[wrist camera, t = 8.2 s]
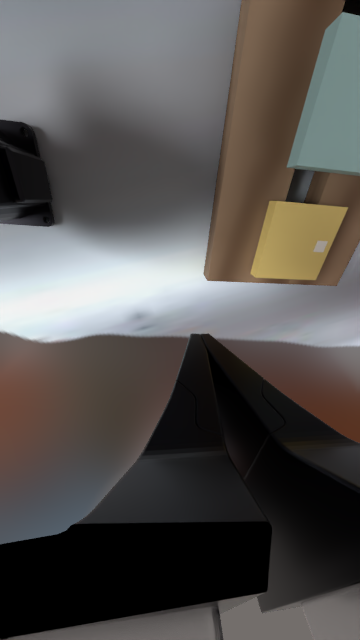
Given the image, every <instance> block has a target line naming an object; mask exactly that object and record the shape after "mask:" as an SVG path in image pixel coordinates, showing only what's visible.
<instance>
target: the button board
mask: <svg viewBox="0 0 360 640" xmlns="http://www.w3.org/2000/svg"><path fill="white" fill-rule="evenodd" d="M344 4H345V0H242V2H241V9H240V16H239V24H238V31H237V38H236V45H235V52H234V59H233V67H232V74H231V81H230V88H229V95H228V103H227V110H226V117H225V124H224V131H223V138H222V146H221V153H220V160H219V167H218V174H217V181H216V189H215V196H214V203H213V210H212V217H211V225H210V232H209V239H208V246H207V253H206V260H205V268H204V276H205V277H206V279H207V281H227V282H253V283H278V284H303V285H329V286H337V284H338V282H339V280H340V278H341V276H342V274H343V272H344V270H345V268H346V267H347V265H348V263H349V261H350V259H351V257H352V255H353V253H354V251H355V249H356V247H357V245H358V243H359V241H360V176H355V175H346V174H338V173H329V172H320V171H315V172H314V175H313V178H312V181H311V184H310V187H309V189H308V192H307V195H306V198H305V201H304V203H305V204H316V205H327V206H338V207H348V209H347V211H346V214H345V216H344V218H343V220H342V223H341V225H340V227H339V229H338V232H337V234H336V236H335V238H334V241H333V243H332V245H331V247H330V249H329V252H328V254H327V256H326V258H325V261H324V263H323V265H322V267H321V270H320V272H319V274H318V276H317V278H316V280H298V279H275V278H255V277H254V276H253V275H252V274H250V273H251V269H252V265H253V262H254V258H255V254H256V250H257V246H258V243H259V239H260V235H261V231H262V227H263V224H264V220H265V216H266V212H267V209H268V205H269V201H283V202H285V200H286V197H287V194H288V190H289V187H290V184H291V180H292V177H293V174H294V170H295V169H294V168H287V164H288V161H289V157H290V154H291V150H292V147H293V143H294V139H295V136H296V132H297V129H298V125H299V122H300V118H301V115H302V111H303V107H304V104H305V100H306V97H307V93H308V90H309V86H310V83H311V79H312V75H313V72H314V68H315V65H316V61H317V58H318V54H319V51H320V47H321V43H322V40H323V36H324V33H325V30H326V29H327V28H328V27H329V26H330V25H331V24H332V23H333V22H334V21H335V19H336V18H337V17H338V16H339V15H340V14H341V13H342V10H343V7H344Z"/></svg>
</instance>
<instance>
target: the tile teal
mask: <svg viewBox="0 0 360 640" xmlns="http://www.w3.org/2000/svg"><path fill="white" fill-rule="evenodd" d="M287 168H294V169H302V170H311V171H320V172H329V173H338V174H346V175H355V176H360V16H358V15H354V14H349V13H345V12H342V13H341V14H340V15H339V16H338V17H337V18H336V19H335V21H334V22H333V23H332V24H331V25H330V26H329V27H328V28H327V29H326V30H325V33H324V36H323V40H322V43H321V47H320V51H319V54H318V58H317V61H316V65H315V68H314V72H313V75H312V79H311V83H310V86H309V90H308V93H307V97H306V100H305V104H304V107H303V111H302V115H301V118H300V122H299V125H298V129H297V132H296V136H295V139H294V143H293V147H292V150H291V154H290V157H289V161H288V164H287Z"/></svg>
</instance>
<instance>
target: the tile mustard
mask: <svg viewBox="0 0 360 640" xmlns="http://www.w3.org/2000/svg"><path fill="white" fill-rule="evenodd" d="M347 209H348V207H338V206H327V205H316V204H305V203H294V202H283V201H269V205H268V209H267V212H266V216H265V220H264V224H263V227H262V231H261V235H260V239H259V243H258V246H257V250H256V254H255V258H254V262H253V265H252V269H251V273H250V274H252V275H253V276H254V277H255V278H275V279H298V280H316V278H317V276H318V274H319V272H320V270H321V267H322V265H323V263H324V261H325V258H326V256H327V254H328V252H329V249H330V247H331V245H332V243H333V241H334V238H335V236H336V234H337V232H338V229H339V227H340V225H341V223H342V220H343V218H344V216H345V214H346V211H347Z"/></svg>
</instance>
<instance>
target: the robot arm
mask: <svg viewBox="0 0 360 640" xmlns="http://www.w3.org/2000/svg"><path fill="white" fill-rule="evenodd" d="M24 129H27V131H28V136H27V137H25V135H24V132H23V131H24ZM51 200H52V195H51V190H50V186H49V181H48V177H47V172H46V168H45V163H44V161H43V160H42V159H41V158H40V154H39V150H38V145H37V141H36V137H35V133H34V131H33V129H32V128H31V127H30V126H28V125H27V124H25V123H22V122H14V121H6V120H0V223H1V224H16V225H31V226H47V227H48V226H52V225H54V223H55V220H54V216H53V211H52V207H51V203H50V202H51ZM45 217H47V218H48V219H49V223H48V222H46V220H45ZM255 597H257V598H258V602H259V606H260V609H261V612H262V613H266V612H271V611H278V610H284V609H290V608H296V607H302V609H303V611H304V614H305V617H306V620H307V623H308V626H309V628H310V631H311V634H312V637H313V640H360V443H358V442H355V441H353V440H351V439H349V438H347V437H345V436H344V435H342V434H340V433H339V432H337V431H336V430H334V429H333V428H331V427H330V426H328V425H327V424H325V423H324V422H323V421H321V420H320V419H318V418H317V417H315V416H314V415H313V414H311V413H310V412H308V411H307V410H305V409H304V408H302V407H301V406H299V405H298V404H297V403H295V402H294V401H293V400H291V399H290V398H288V397H287V396H286V395H284V394H283V393H281V392H280V391H279V390H278V389H277V388H275V387H274V386H272V385H271V384H270V383H269V382H268V381H266V380H265V379H263V377H261V376H260V375H259V374H258V373H257V372H255V371H254V370H253V369H251V368H250V367H249V366H248V365H247V364H245V363H244V362H243V361H242V360H240V359H239V358H238V357H237V356H236V355H234V354H233V353H232V352H231V351H229V350H228V349H227V348H226V347H224V346H223V345H222V344H221V343H219V342H218V341H217V340H216V339H215V338H213V337H212V336H211V335H210V334H191V335H190V338H189V341H188V344H187V347H186V350H185V353H184V356H183V360H182V363H181V366H180V369H179V372H178V375H177V379H176V382H175V384H174V388H173V391H172V393H171V396H170V399H169V401H168V403H167V405H166V407H165V410H164V412H163V414H162V416H161V417H160V420H159V421H158V423H157V425H156V427H155V429H154V431H153V433H152V435H151V437H150V439H149V441H148V443H147V444H146V446H145V448H144V450H143V452H142V453H141V455H140V456H139V458H138V459H137V461H136V462H135V463H134V464H133V465H132V467H131V468H130V469H129V470H128V471H127V472H126V474H124V476H123V477H122V478H121V479H120V480H119V481H118V482H117V484H116V485H115V486H114V487H113V488H112V489H111V491H110V492H109V493H108V494H107V495H106V496H105V497H104V498H103V499H102V501H101V502H100V503H99V504H98V505H97V506H96V507H95V509H94V510H92V512H90V514H88V515H87V516H86V517H85V518H83V519H82V520H80V521H79V522H77V523H75V524H73V525H71V526H70V527H69V528H68V529H67V530H66V531H64V532H62V533H60V534H57V535H52V536H45V537H40V538H34V539H29V540H23V541H17V542H11V543H6V544H1V545H0V640H223V633H222V627H221V620H220V614H221V613H223V612H225V611H228V610H230V609H232V608H234V607H236V606H238V605H240V604H242V603H244V602H247V601H249V600H251V599H253V598H255Z"/></svg>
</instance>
